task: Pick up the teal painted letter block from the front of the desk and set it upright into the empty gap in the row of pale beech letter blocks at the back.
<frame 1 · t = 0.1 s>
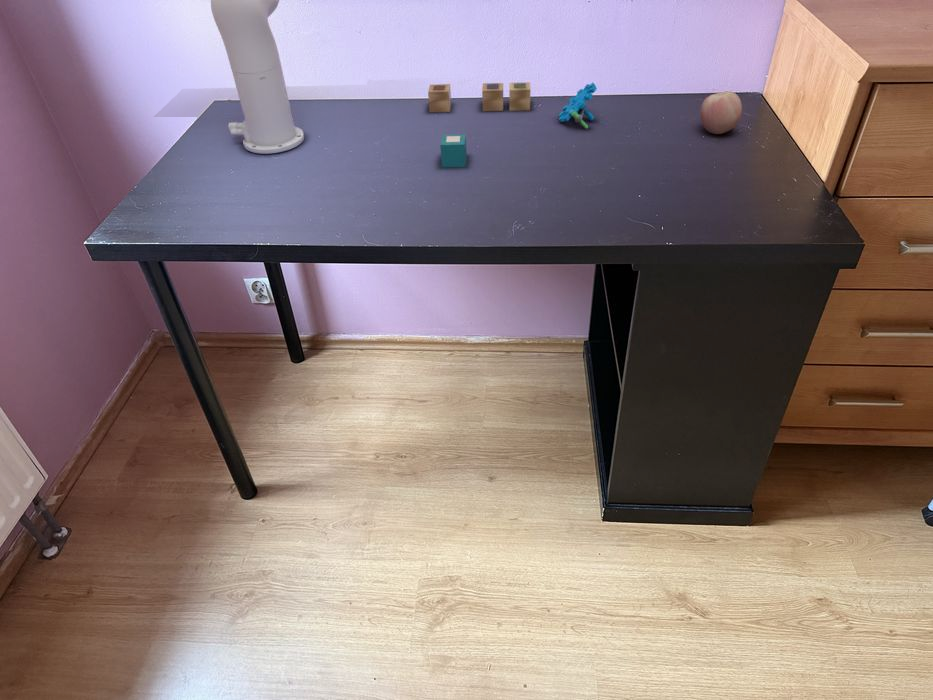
blue flower: (575, 122, 142), on the table
beech block 2: (493, 107, 149), on the table
beech block 1: (440, 108, 150), on the table
teal block: (454, 162, 129), on the table
beech block 3: (519, 106, 149), on the table
apple: (716, 133, 135), on the table
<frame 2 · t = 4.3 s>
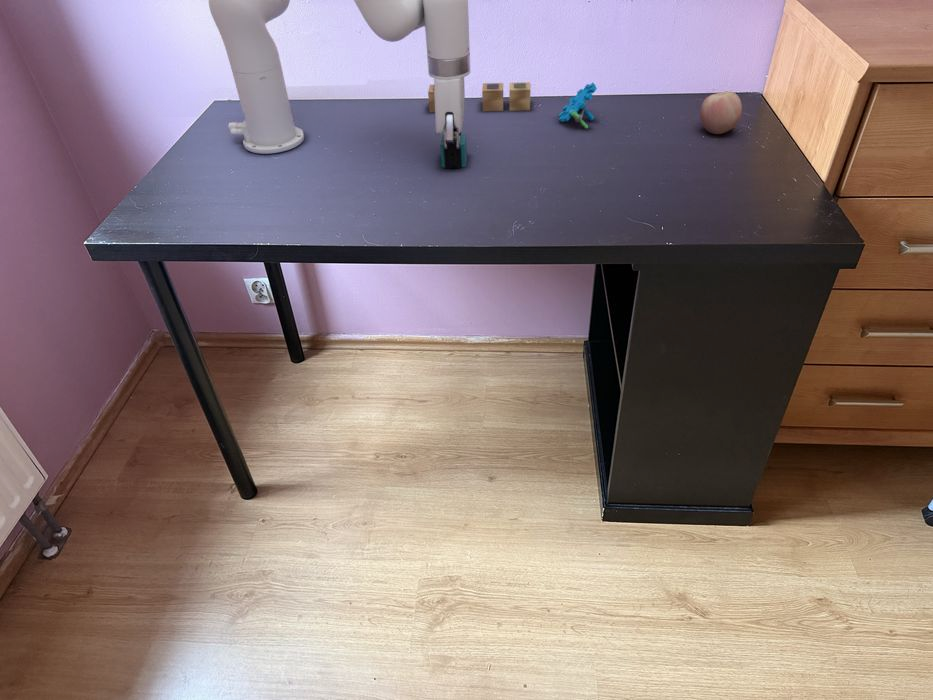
hand: (454, 160, 129), 0 cm above the table, tool pointing down, fingers closed on teal block, 4 cm apart
teal block: (454, 162, 129), on the table, touching gripper
everything else where it was.
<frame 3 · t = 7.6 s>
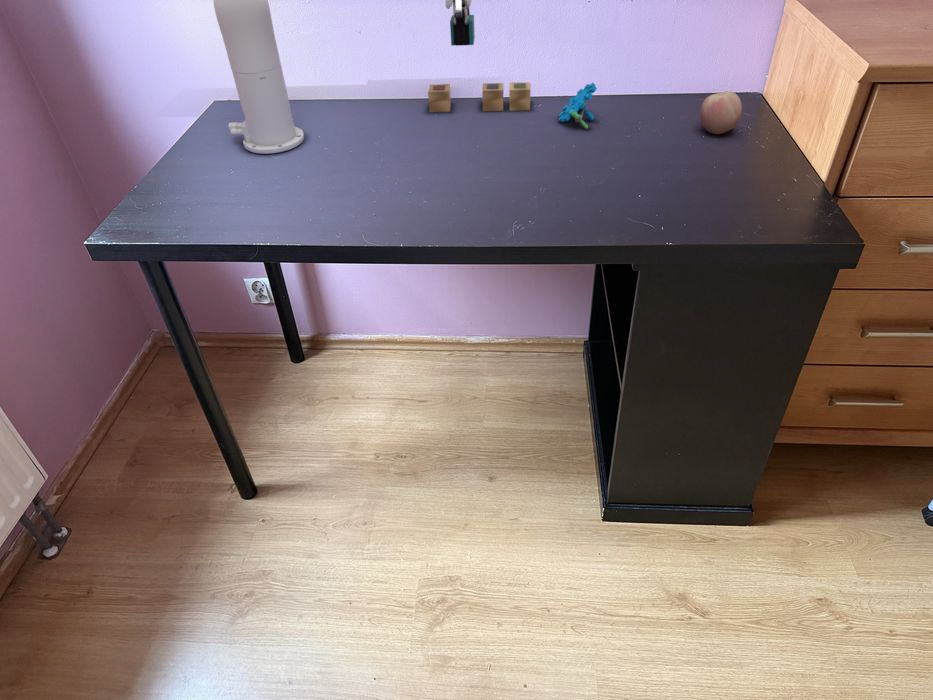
hand: (462, 39, 137), 15 cm above the table, tool pointing down, fingers closed on teal block, 4 cm apart
teal block: (463, 41, 138), point 15 cm above the table, touching gripper
everything else where it was.
when the fingers open (0 cm above the table, at t = 11.0 s): teal block stays where it is, on the table.
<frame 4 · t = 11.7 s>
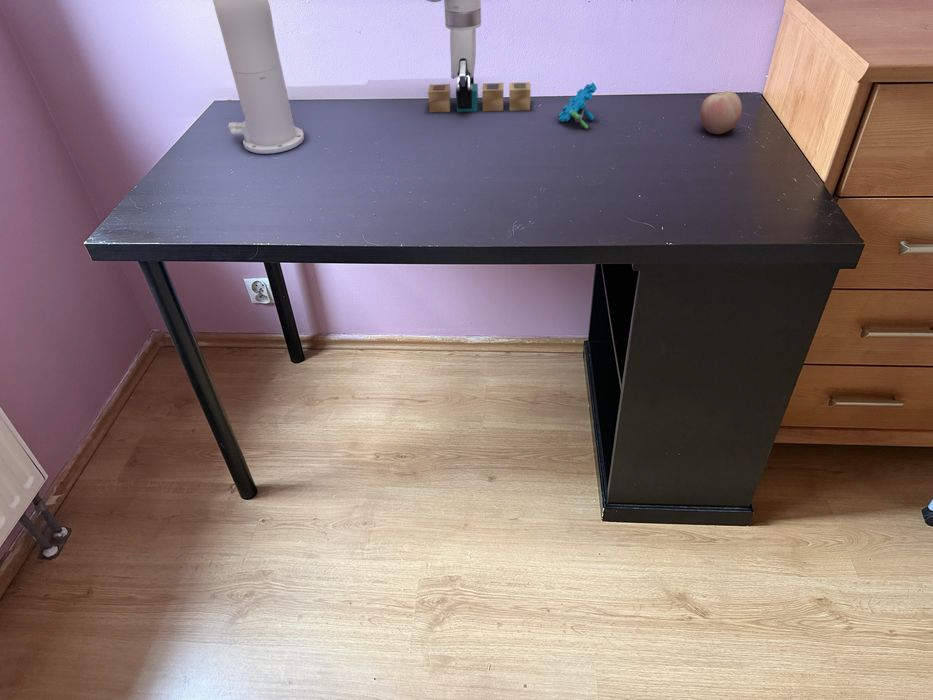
hand: (466, 100, 149), 2 cm above the table, tool pointing down, fingers open, 9 cm apart
teal block: (467, 107, 150), on the table
everything else where it was.
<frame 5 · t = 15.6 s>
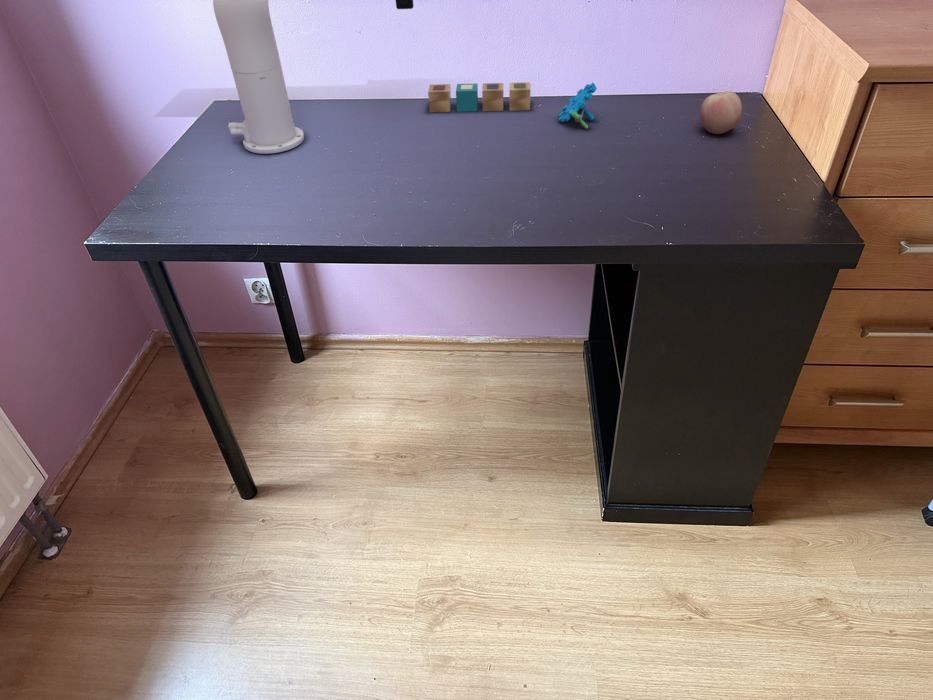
hand: (408, 1, 128), 24 cm above the table, tool pointing down, fingers open, 9 cm apart
nothing on the table moved.
at the end: teal block 0.2 cm from the target spot on the table beside the beech block 1, on the table; teal block tilted 0°; beech block 2 moved 0.0 cm from its start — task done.
